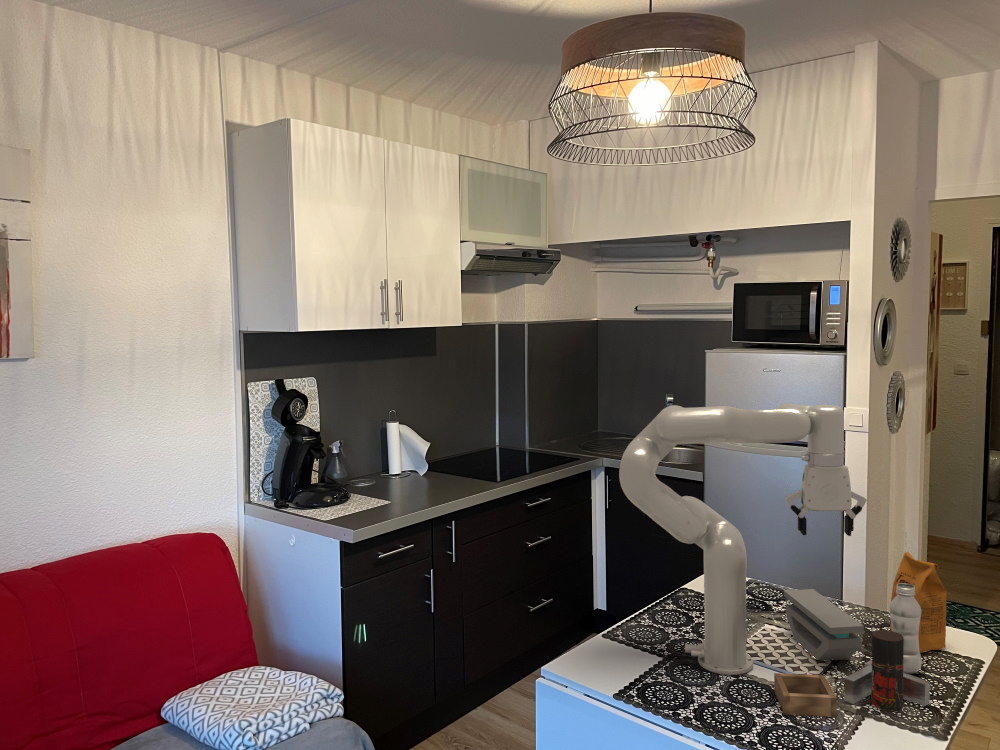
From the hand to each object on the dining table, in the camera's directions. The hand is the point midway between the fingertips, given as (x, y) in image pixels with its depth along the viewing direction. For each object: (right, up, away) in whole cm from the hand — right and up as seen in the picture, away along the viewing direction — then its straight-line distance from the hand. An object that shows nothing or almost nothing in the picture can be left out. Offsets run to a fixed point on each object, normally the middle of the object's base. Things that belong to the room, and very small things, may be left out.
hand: (825, 534), depth 181 cm
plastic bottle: (+19, -32, +2) cm, 37 cm away
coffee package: (+29, -31, +16) cm, 45 cm away
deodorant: (+7, -33, -14) cm, 37 cm away
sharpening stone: (+5, -32, +14) cm, 35 cm away
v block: (+8, -33, -9) cm, 35 cm away
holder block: (-9, -34, -12) cm, 37 cm away
